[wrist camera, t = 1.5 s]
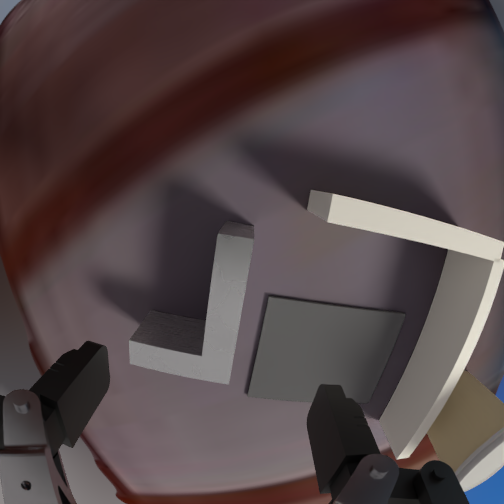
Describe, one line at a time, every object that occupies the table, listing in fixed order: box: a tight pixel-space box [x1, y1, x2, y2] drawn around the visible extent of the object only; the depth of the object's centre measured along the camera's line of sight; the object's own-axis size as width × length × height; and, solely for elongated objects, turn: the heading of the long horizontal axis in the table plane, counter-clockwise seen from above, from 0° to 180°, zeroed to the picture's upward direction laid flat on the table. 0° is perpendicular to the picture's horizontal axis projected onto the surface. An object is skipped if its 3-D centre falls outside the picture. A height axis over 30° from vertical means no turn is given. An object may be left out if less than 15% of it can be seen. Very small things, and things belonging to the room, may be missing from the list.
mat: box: [247, 296, 406, 403], centre depth 24 cm, size 10×12×1 cm
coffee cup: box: [427, 370, 504, 491], centre depth 20 cm, size 9×9×12 cm
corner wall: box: [307, 190, 504, 459], centre depth 20 cm, size 21×15×6 cm
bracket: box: [129, 221, 254, 384], centre depth 20 cm, size 10×7×5 cm
